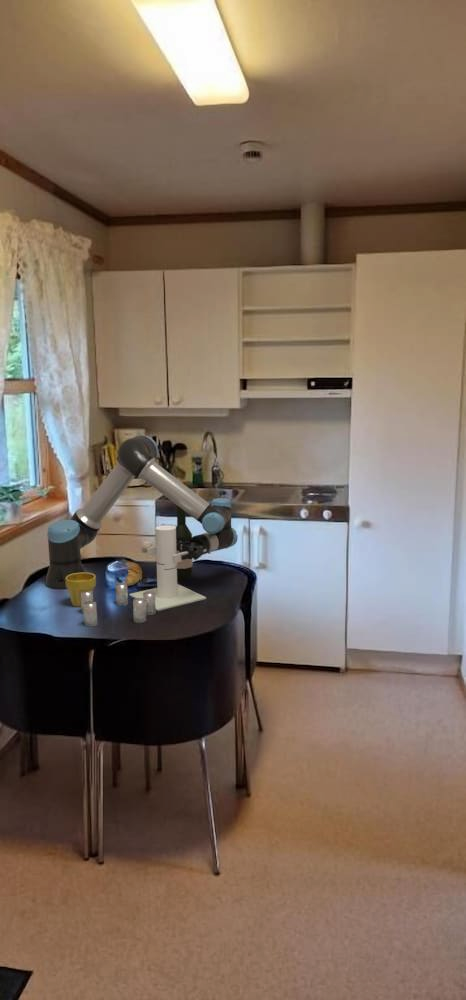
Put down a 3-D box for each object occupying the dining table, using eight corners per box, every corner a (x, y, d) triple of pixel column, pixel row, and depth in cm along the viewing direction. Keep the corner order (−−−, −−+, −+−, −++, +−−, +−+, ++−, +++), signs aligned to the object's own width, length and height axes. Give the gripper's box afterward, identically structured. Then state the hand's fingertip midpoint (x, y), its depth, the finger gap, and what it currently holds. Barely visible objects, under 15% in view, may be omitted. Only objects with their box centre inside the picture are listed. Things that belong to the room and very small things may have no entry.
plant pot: (102, 603, 236) (101, 576, 234) (76, 610, 229) (75, 583, 227) (87, 596, 243) (85, 570, 241) (61, 603, 236) (59, 576, 234)
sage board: (129, 595, 244) (129, 594, 243) (176, 584, 255) (176, 583, 255) (157, 611, 228) (157, 609, 228) (206, 598, 240) (206, 597, 239)
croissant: (136, 596, 253) (146, 578, 252) (112, 585, 251) (121, 567, 250) (136, 578, 274) (145, 561, 273) (114, 568, 271) (122, 550, 270)
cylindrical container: (162, 591, 246) (160, 524, 241) (180, 593, 244) (179, 526, 239) (154, 597, 239) (152, 529, 234) (172, 599, 237) (170, 530, 232)
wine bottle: (178, 571, 272) (177, 498, 266) (196, 574, 268) (195, 500, 262) (168, 577, 264) (166, 502, 259) (186, 580, 261) (184, 504, 255)
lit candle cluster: (68, 613, 226) (67, 594, 224) (132, 599, 240) (131, 580, 238) (97, 634, 208) (96, 612, 207) (164, 616, 222) (163, 596, 221)
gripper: (227, 559, 244) (184, 573, 229) (181, 547, 261) (138, 559, 246) (227, 539, 242) (184, 551, 227) (180, 528, 259) (137, 539, 244)
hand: (160, 555), depth 236 cm, fingers open, 13 cm apart
